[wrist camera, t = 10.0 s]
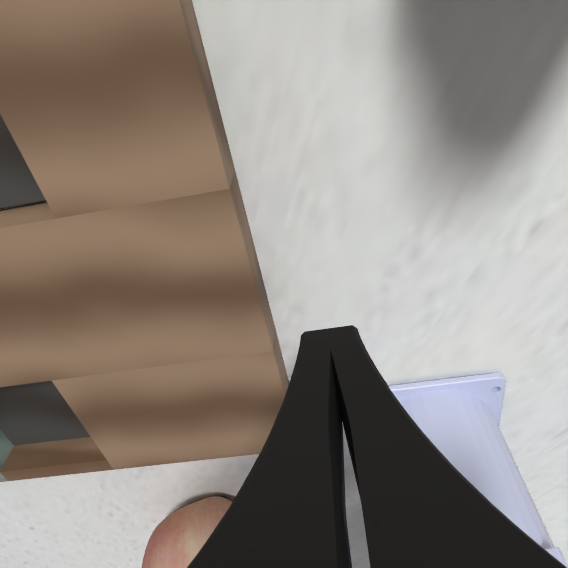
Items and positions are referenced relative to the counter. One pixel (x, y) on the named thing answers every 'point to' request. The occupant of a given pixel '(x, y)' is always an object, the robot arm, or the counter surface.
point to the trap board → (123, 248)
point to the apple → (184, 533)
